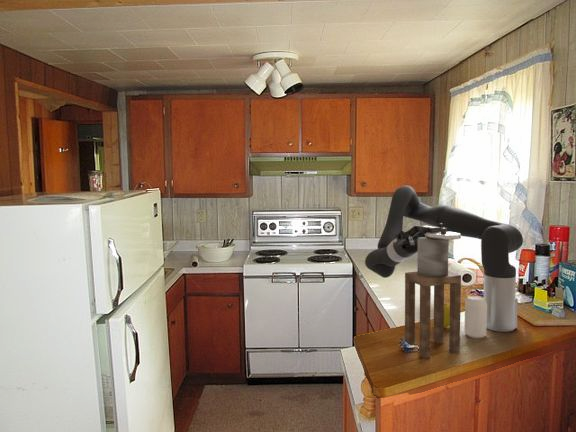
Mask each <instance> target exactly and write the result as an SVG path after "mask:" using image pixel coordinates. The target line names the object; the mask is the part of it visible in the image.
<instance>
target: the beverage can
mask: <svg viewBox="0 0 576 432" xmlns="http://www.w3.org/2000/svg"><path fill="white" fill-rule="evenodd" d="M487 330H488V329H487V303H486V301H485V298H484V296H481V295H468V296H467V298H466V300H465V302H464V334H465V335H467V336H468V337H469V338H472V339H482V338H484V337H486V336H487Z"/></svg>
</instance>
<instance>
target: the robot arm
mask: <svg viewBox="0 0 576 432" xmlns="http://www.w3.org/2000/svg"><path fill="white" fill-rule="evenodd" d="M391 196H392V197H391V202H390V207H389V210H388V214H387V218H386V223H385V225H384V227H383V228H384V229H383V231H382V233H381V236H380V238H379V240H378V241H377V242H378V243H377V249H374V250H372V251H371V252H369V253H368V254H367V255H366V257H365V260H364V266H365V267H366V268H367V269H368V270H370V271H371V272H373V273H375V274H377V275H378V276H380V277H381V278H384V279H385V278H390V277H391V276H392V275H393V274H394V272H395V270H396V266H397V265H399V264H400V263H402V262H403V261H404V262H405V261H407V260H408V259H409V258H410V257H413V256H414V255H415V254H417V253H418V238H420V237H426V234H423V233H419V232H420V229H419V226H420V225H417V224H416V225H414V226H412V227H411V228H410V229H407V230H405V231H404V230H403V229H404V228H403V225H404V218H408V219H412V220H415V221H419V222H423V223H424V224H426V225H428V226H434V227H440V228H446V232H455V233H460V234H461V237H466V238H472V239H473V238H474V239H477V240H480V247H481V248H480V250H481V252H480V253H481V254H480V255H481V257H480V258H481V265H482V268H483V272H484V273H483V297H484V298H485V301H486V303H487V329H486V330H490V331H493V332H494V331H495V332H501V333H503V332H504V333H506V332H513V331H515V329H517V328H518V305H519V304H518V303H519V302H518V298H516V289H517V287H516V285H517V284H516V281H517V280H516V279H517V268H516V267H515V266H514V265H513V264H511V263H510V259H509V258H510V257H509V256H510V255H509V254H511V253H514V252H516V251H518V250H519V249H520V248H521V247H522V245H523V243H524V238H523V235H522V232H521V231H520V230H519V229H518V228H517V227H515V226H514V225H512V224H509V223H508V224H507V223H503V222H499V221H495V220H491V219H487V218H485V217H482V216H480V215H477V214H474V213H471V212H468V211H466V210H463V209H461V208H459V207H456V206H453V205H451V204H444V203H443V204H439V205H438V204H437V205H436V206H430V205H427V204H425V203H423V202H421V201H420V199H419V196H418V195H417V192H416V190H415V189H414V188H413V187H411V185H402V186H400V187H398V188H397V189H395V191H393V194H392V195H391Z"/></svg>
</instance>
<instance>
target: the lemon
mask: <svg viewBox="0 0 576 432" xmlns="http://www.w3.org/2000/svg"><path fill="white" fill-rule="evenodd" d="M449 327H450V305H448V304H446V303H444V329H447V328H449Z"/></svg>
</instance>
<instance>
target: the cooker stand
mask: <svg viewBox="0 0 576 432" xmlns="http://www.w3.org/2000/svg"><path fill="white" fill-rule="evenodd" d="M404 278H405V279H404V343H405V342H407V343H408V344H410V345H415V344H416V337H415V336H416V335H415V334H416V285H418V286H419V343H418V344H419V357H420V358H421V359H430V358H431V308H432V306H431V304H432V303H431V299H432V297H431V295H432V294H431V290H432V289H431V287H433V343H435V344H436V345H441V344H444V335H445V334H444V329H445V328H444V304H445V285H449V306H450V326H449V327H448V328H449V331H448V332H449V335H448V337H449V338H448V339H449V342H448V343H449V344H448V346H449V347H448V351H450V352H451V353H453V354H456V353H457V354H458V353H460V352H461V301H462V300H461V299H462V296H461V295H462V290H461V289H462V275H461V274H458V273H455V272H452V271H451V272H450V271H449V240H440V239H430V238H427V237H426V236H425V237H420V238H418V252H417V269H416V271H407V272H404ZM415 346H416V345H415Z"/></svg>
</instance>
